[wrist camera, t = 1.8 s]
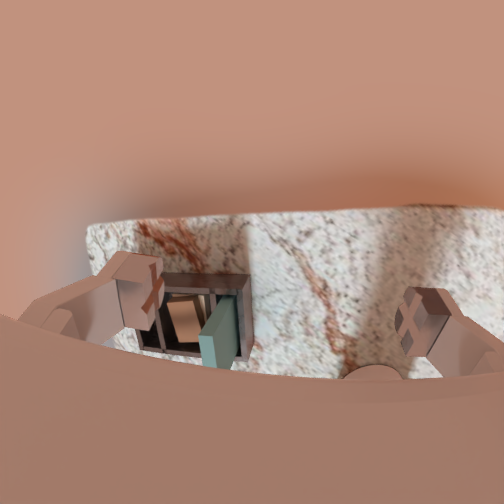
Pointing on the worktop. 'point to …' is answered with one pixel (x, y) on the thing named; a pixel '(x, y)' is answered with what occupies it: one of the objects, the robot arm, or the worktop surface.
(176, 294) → the birch offcut
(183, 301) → the walnut offcut
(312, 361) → the worktop surface
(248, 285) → the rack
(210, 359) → the teal panel
